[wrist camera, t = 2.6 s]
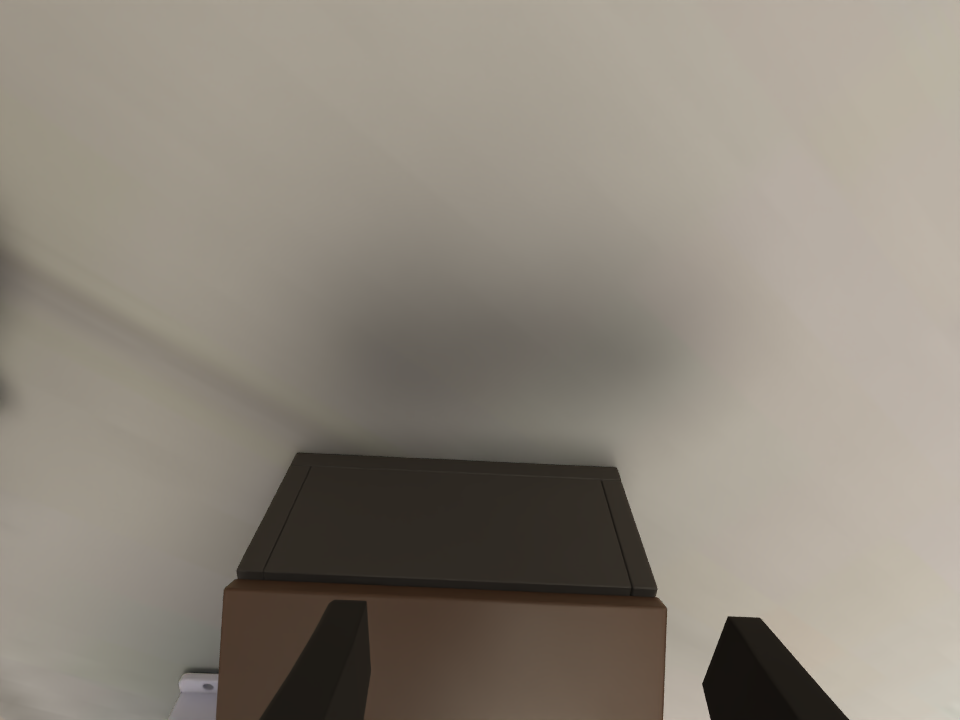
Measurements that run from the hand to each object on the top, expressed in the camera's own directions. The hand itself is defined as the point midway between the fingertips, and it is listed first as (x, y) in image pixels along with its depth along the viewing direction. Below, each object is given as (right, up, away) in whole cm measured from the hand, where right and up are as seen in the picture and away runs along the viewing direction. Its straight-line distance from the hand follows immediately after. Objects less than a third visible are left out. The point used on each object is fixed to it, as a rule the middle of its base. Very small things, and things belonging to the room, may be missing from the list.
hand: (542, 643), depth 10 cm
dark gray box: (-2, -5, +14) cm, 15 cm away
